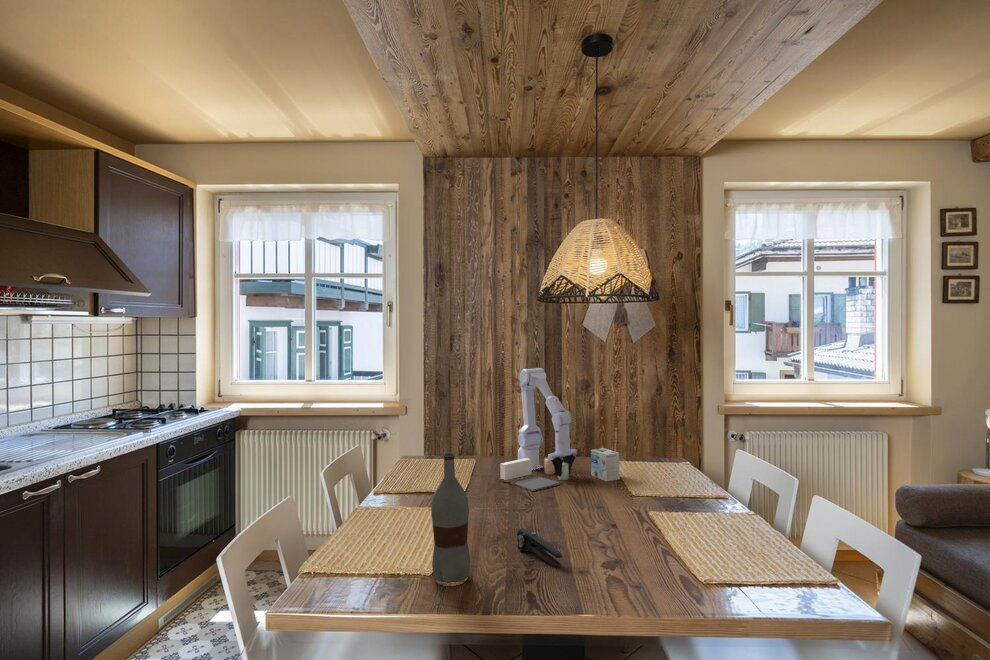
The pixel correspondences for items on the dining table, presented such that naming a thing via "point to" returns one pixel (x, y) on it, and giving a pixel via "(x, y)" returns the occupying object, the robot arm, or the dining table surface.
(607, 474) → the light bulb box
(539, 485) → the pad
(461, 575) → the bottle
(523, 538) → the can opener
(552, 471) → the terracotta part
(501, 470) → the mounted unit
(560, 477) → the sage part
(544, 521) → the dining table surface
